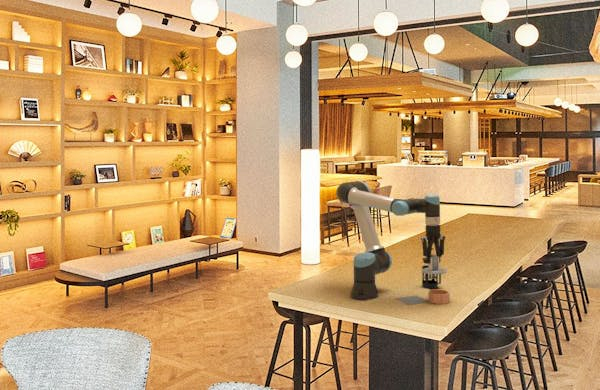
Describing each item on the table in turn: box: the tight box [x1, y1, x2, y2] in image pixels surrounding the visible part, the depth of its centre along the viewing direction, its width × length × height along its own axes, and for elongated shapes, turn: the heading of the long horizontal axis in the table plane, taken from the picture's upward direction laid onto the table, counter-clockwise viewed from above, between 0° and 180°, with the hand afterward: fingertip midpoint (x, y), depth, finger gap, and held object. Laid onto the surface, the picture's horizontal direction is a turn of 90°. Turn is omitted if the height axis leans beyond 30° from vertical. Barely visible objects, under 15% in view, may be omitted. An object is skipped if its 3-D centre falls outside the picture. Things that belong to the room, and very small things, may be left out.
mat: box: [393, 295, 431, 306], centre depth 296 cm, size 14×14×1 cm
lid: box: [421, 253, 447, 275], centre depth 292 cm, size 13×13×9 cm
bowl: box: [427, 288, 451, 305], centre depth 293 cm, size 10×10×5 cm
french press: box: [421, 247, 442, 290], centre depth 322 cm, size 12×9×23 cm
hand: (433, 269), depth 292 cm, fingers closed on lid, 3 cm apart
